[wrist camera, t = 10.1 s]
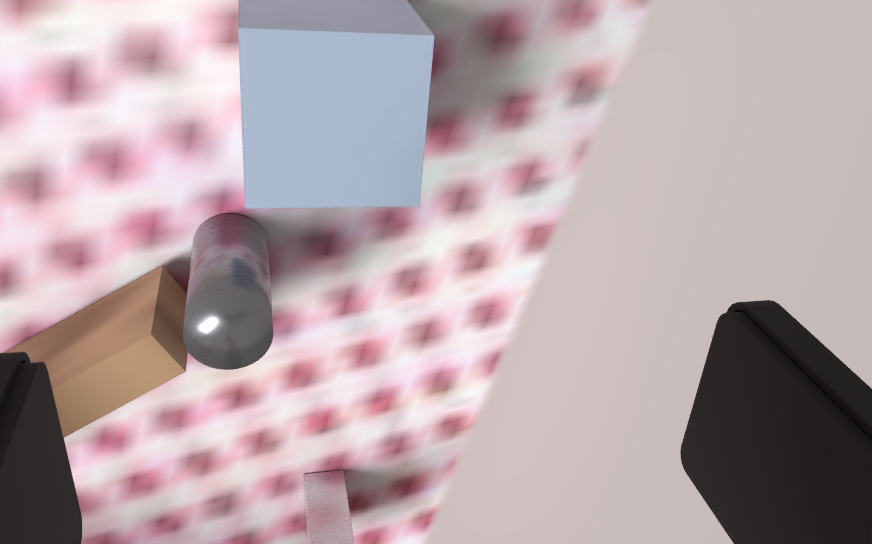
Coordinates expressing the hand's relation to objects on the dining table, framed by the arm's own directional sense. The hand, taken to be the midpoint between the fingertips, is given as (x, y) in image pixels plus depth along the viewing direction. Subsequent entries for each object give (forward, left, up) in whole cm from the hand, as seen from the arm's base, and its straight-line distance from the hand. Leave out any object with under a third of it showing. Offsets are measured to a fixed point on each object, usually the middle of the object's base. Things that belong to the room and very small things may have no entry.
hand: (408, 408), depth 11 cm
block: (0, 0, -15) cm, 15 cm away
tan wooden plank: (-9, +9, -15) cm, 20 cm away
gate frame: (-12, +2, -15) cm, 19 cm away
